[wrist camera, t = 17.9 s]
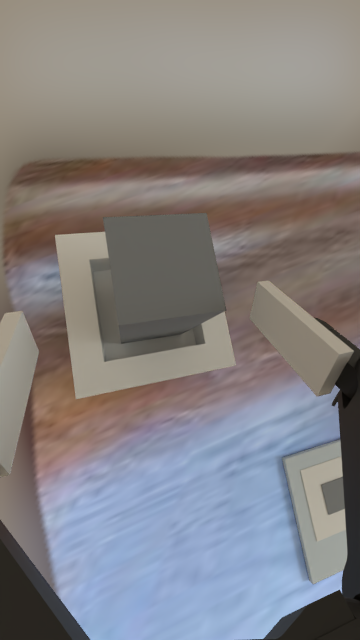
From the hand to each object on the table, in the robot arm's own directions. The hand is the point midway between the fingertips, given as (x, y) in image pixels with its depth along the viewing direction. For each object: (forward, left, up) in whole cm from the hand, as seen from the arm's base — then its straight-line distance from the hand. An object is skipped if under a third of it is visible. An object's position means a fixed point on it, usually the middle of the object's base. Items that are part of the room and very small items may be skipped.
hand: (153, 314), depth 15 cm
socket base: (-1, -2, -12) cm, 13 cm away
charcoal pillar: (-1, -2, -11) cm, 11 cm away
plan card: (-18, +22, -12) cm, 30 cm away
